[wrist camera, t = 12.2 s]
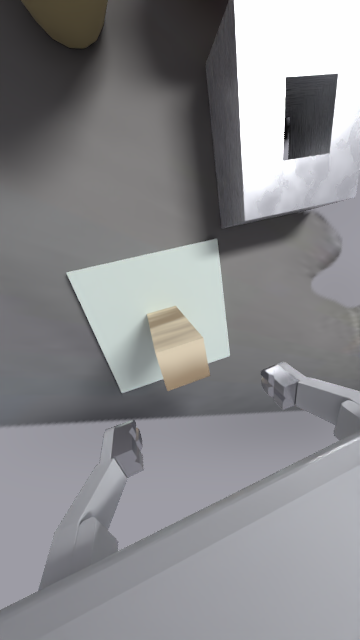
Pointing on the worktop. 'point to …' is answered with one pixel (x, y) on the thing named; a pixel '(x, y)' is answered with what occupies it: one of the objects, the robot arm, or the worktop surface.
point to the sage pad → (152, 306)
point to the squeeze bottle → (69, 19)
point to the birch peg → (177, 348)
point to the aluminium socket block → (285, 106)
